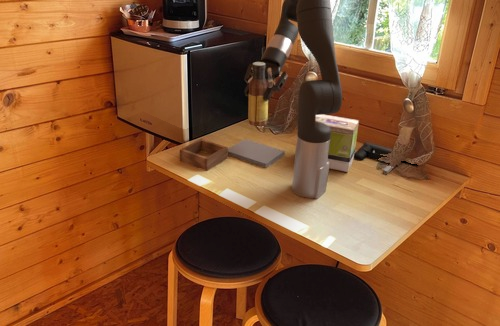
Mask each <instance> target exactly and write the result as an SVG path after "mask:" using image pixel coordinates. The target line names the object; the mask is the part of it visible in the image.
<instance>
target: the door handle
mask: <svg viewBox="0 0 500 326" xmlns="http://www.w3.org/2000/svg"><path fill="white" fill-rule="evenodd" d="M392 150H394V149H392V148H390V147H386V146H382V145H379V144H376V143H372V142H369V141H365V142H364V143H363V144H362V146H361V147H360V148H358V149H357V150H356V151H355V153H354V159H353V160H357V161H362V160H364V159H365V158H368V159H371V158H372V159H373V160H375V159H377V160H376V161H378V159H379V158H381V157H387V156H383V155H380V154H388V153H391V152H392ZM391 170H392V167H391V166H387V165H386V166H385V167H384V169H383V170H382V174H383V173H385V174H384V175H387V174H388V175H389V174H390V173H391V172H392V171H391ZM390 171H391V172H390ZM389 172H390V173H389Z"/></svg>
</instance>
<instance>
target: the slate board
mask: <svg viewBox="0 0 500 326" xmlns="http://www.w3.org/2000/svg"><path fill="white" fill-rule="evenodd" d="M285 155H286V151H285V150H283V149H280V148H278V147H277V148H276V147H273V146H269V145H266V144H265V143H259V142H257V141H254V140H251V139H247V138H244V139H242V140H241V141H239V142H237V143H235V144H233V145H231V146H230V147H228V157H231V158H234V159H238V160H241V161H243V162H247V163H250V164H253V165H255V166H259V167H262V168H265V169H267V168H269V167H270V166H271V165H273V164H274V163H275V162H277V161H279V160H280V159H281V158H282V157H284V156H285Z"/></svg>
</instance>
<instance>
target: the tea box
mask: <svg viewBox="0 0 500 326" xmlns="http://www.w3.org/2000/svg"><path fill="white" fill-rule="evenodd" d="M316 121H318V122H321V123H324V124H326V125H327V126H329V127H330V129H331V138H330V145H329V152H328V160H327V161H328V162H330V165H329V170H330V169H331V170H336V171H340V172H345V173H348V172H349V171H350V168H351V166H352V163H353V161H354V160H355V159H354V153H355V152H356V146H357V138H358V131H359V126H360V125H359V123H360V119H353V118H347V117H341V116H335V115H330V114H321V115H316Z"/></svg>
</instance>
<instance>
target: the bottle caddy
mask: <svg viewBox="0 0 500 326" xmlns="http://www.w3.org/2000/svg"><path fill="white" fill-rule="evenodd" d="M228 148H229V147H228V146H224V145H221V144H218V143H216V142H213V141H209V140H206V139H203V138H200V139H198V140H196V141H193V142H192V143H190V144H188V145H186V146H184V147H182V148H180V149H179V161H180V162H182V163H184V164H187V165H190V166H192V167H196V168H198V169H201V170H203V171H207V172H208V171H209V170H211V169H213V168H215V167H216V166H217V165H219V164H221V163H222V162H225V161H226V160H227V159H228V157H229V156H228ZM201 152H202V153H205V154H208V156H204V155H200V154H199V153H201Z"/></svg>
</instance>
